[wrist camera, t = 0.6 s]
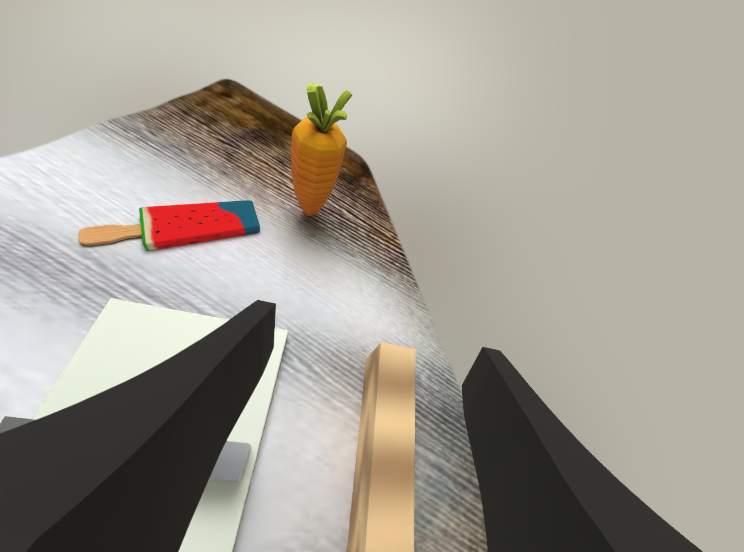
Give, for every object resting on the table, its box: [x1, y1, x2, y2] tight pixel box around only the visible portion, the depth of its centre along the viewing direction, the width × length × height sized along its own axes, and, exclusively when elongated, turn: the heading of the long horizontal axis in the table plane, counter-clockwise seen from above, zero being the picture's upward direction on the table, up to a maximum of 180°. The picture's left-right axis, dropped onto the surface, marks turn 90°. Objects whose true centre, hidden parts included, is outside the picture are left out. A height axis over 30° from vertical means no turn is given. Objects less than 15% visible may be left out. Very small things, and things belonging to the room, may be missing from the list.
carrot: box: [291, 84, 352, 216], centre depth 30 cm, size 5×5×15 cm
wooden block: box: [347, 342, 415, 552], centre depth 22 cm, size 18×3×5 cm, turn 174°
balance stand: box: [0, 298, 288, 552], centre depth 19 cm, size 20×14×4 cm
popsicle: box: [79, 200, 260, 250], centre depth 30 cm, size 5×2×15 cm
